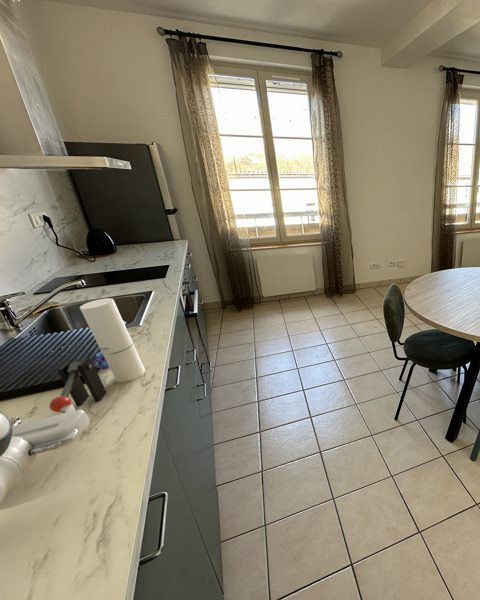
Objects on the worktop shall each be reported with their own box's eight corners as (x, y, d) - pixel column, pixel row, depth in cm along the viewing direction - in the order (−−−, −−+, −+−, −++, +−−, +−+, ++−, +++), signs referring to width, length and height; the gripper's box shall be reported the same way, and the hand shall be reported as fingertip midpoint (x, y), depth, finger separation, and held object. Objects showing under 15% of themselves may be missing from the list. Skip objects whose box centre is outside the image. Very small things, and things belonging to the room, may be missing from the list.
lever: (71, 412, 78) (62, 404, 76) (52, 417, 77) (42, 408, 75) (90, 367, 88) (83, 358, 86) (74, 371, 87) (66, 362, 85)
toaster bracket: (104, 411, 86) (83, 371, 81) (61, 422, 83) (37, 380, 78) (122, 385, 96) (104, 348, 91) (84, 394, 93) (64, 355, 89)
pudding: (96, 361, 110) (90, 348, 108) (139, 352, 114) (133, 339, 112) (81, 381, 100) (74, 366, 98) (129, 369, 104) (123, 355, 102)
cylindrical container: (129, 371, 103) (95, 299, 93) (151, 370, 103) (119, 297, 93) (111, 386, 96) (72, 309, 86) (135, 385, 96) (98, 308, 86)
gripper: (61, 431, 62) (94, 389, 74) (-89, 469, 56) (-26, 416, 68) (76, 456, 64) (106, 411, 76) (-66, 494, 58) (-9, 439, 70)
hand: (43, 413), depth 72 cm, fingers open, 8 cm apart
